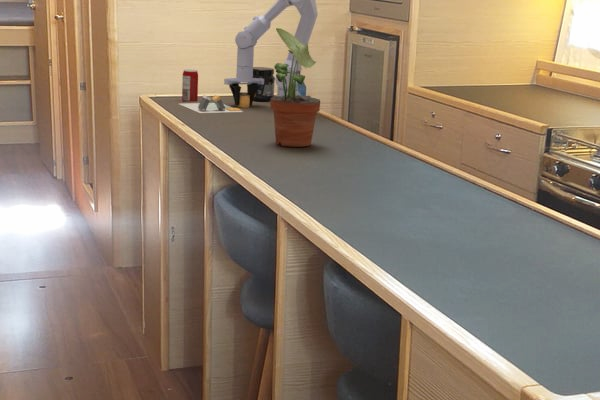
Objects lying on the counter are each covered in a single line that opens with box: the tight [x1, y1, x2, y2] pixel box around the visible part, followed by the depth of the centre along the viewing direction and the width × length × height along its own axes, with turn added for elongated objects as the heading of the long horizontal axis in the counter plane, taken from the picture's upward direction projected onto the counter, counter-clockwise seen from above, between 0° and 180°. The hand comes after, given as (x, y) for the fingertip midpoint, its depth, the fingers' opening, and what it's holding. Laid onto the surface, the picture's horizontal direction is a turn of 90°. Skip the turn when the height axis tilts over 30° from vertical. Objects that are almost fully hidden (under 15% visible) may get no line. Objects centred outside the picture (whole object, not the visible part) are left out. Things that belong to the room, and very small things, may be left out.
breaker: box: [198, 94, 212, 111], centre depth 299 cm, size 4×2×5 cm, turn 28°
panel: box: [179, 102, 244, 114], centre depth 307 cm, size 20×16×2 cm
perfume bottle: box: [298, 81, 307, 96], centre depth 335 cm, size 6×6×12 cm
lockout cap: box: [236, 91, 251, 108], centre depth 313 cm, size 4×4×6 cm
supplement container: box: [246, 66, 276, 103], centre depth 338 cm, size 10×10×12 cm
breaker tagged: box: [211, 95, 225, 111], centre depth 301 cm, size 4×2×5 cm, turn 29°
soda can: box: [181, 69, 199, 103], centre depth 321 cm, size 6×6×12 cm
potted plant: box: [269, 27, 321, 148], centre depth 251 cm, size 16×15×35 cm
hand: (243, 104), depth 313 cm, fingers closed on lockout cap, 4 cm apart
